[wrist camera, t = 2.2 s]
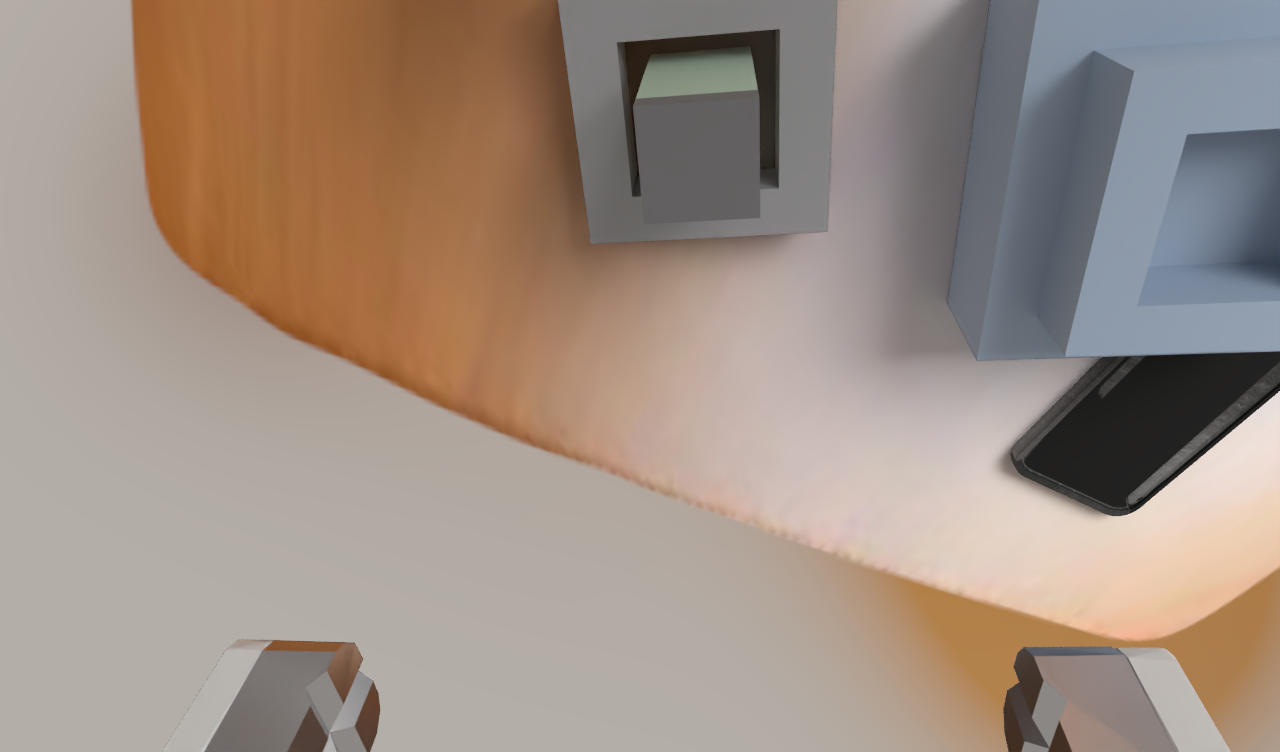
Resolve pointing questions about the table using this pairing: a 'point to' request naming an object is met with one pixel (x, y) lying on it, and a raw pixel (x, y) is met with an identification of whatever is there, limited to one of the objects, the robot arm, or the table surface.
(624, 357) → the table surface
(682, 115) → the plug block
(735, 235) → the low socket
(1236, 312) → the raised dock
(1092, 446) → the phone
